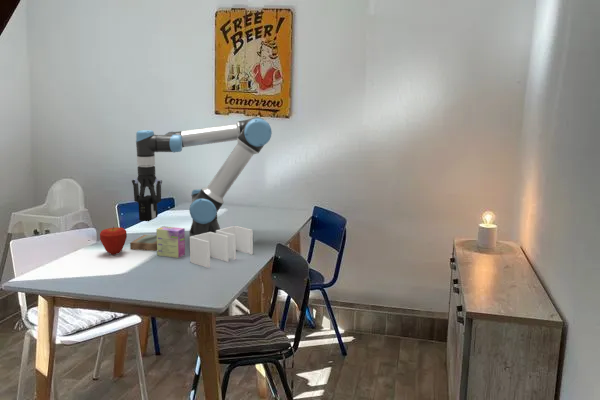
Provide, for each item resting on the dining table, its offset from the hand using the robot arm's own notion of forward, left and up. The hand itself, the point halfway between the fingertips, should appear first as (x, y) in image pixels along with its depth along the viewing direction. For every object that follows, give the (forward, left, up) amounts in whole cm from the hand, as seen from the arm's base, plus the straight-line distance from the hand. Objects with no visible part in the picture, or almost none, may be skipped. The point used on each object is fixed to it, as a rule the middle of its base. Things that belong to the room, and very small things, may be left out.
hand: (148, 217), depth 259 cm
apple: (+10, +14, -13) cm, 22 cm away
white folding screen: (-38, +12, -13) cm, 42 cm away
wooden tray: (0, 0, -13) cm, 13 cm away
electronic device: (0, 0, -1) cm, 1 cm away
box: (-15, +12, -13) cm, 23 cm away
